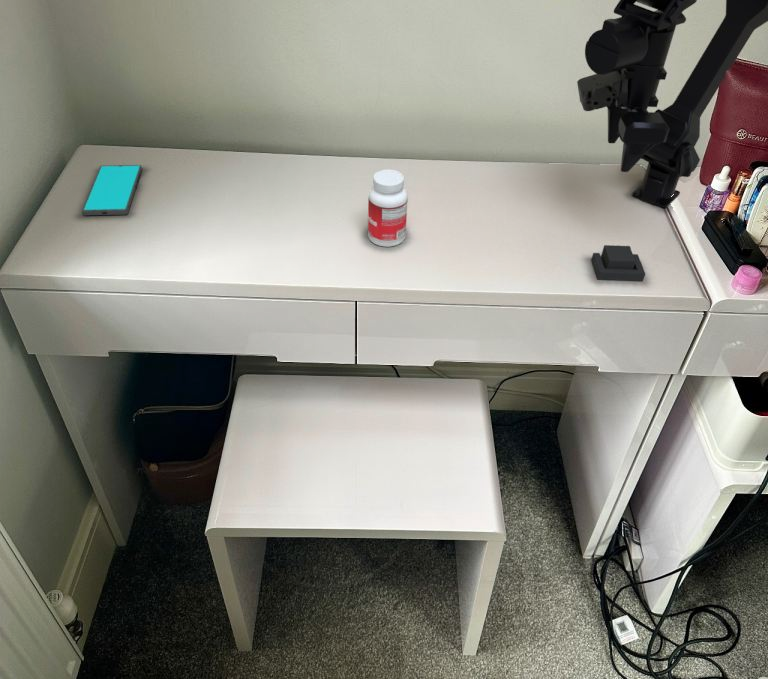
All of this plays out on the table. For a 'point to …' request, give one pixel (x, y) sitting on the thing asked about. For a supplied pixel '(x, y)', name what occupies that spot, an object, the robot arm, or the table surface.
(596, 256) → the black u-shaped bracket
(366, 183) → the table surface
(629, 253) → the dark grey block
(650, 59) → the robot arm
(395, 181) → the pill bottle
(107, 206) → the smartphone
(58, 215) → the table surface
